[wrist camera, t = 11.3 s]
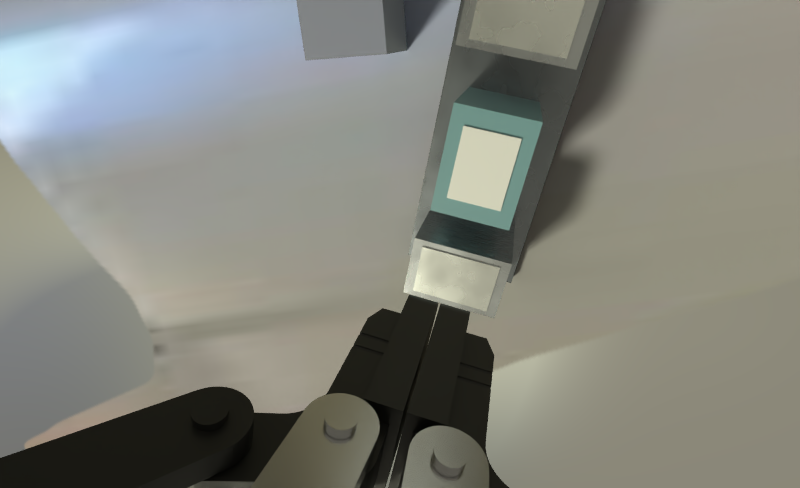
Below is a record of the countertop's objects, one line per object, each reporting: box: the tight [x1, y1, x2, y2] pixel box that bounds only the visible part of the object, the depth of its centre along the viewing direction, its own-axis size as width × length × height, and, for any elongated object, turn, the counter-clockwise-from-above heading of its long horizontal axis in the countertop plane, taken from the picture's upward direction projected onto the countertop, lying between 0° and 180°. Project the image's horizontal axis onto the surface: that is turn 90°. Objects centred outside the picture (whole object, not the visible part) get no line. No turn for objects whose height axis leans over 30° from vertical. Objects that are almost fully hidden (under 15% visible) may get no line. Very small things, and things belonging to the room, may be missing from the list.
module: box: [430, 87, 543, 230], centre depth 27 cm, size 6×4×7 cm
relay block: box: [297, 0, 407, 60], centre depth 28 cm, size 5×5×5 cm
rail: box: [403, 0, 606, 318], centre depth 28 cm, size 20×8×7 cm, turn 170°
